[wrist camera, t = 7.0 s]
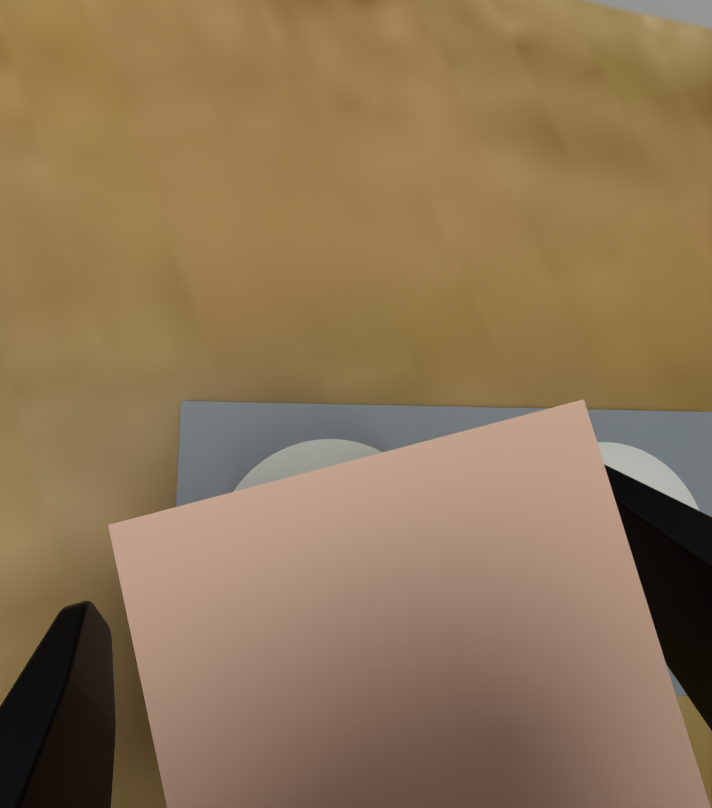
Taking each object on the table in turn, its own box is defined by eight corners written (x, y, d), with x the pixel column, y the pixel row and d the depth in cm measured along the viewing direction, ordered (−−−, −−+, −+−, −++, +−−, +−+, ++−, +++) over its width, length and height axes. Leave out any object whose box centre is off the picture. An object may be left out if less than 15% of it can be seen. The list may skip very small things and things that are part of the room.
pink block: (431, 612, 18) (734, 883, 6) (268, 664, 17) (231, 1115, 5) (388, 451, 18) (584, 398, 6) (228, 493, 17) (107, 525, 5)
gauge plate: (727, 680, 20) (837, 731, 16) (171, 711, 17) (138, 781, 13) (702, 415, 21) (797, 400, 17) (186, 405, 18) (160, 385, 15)
